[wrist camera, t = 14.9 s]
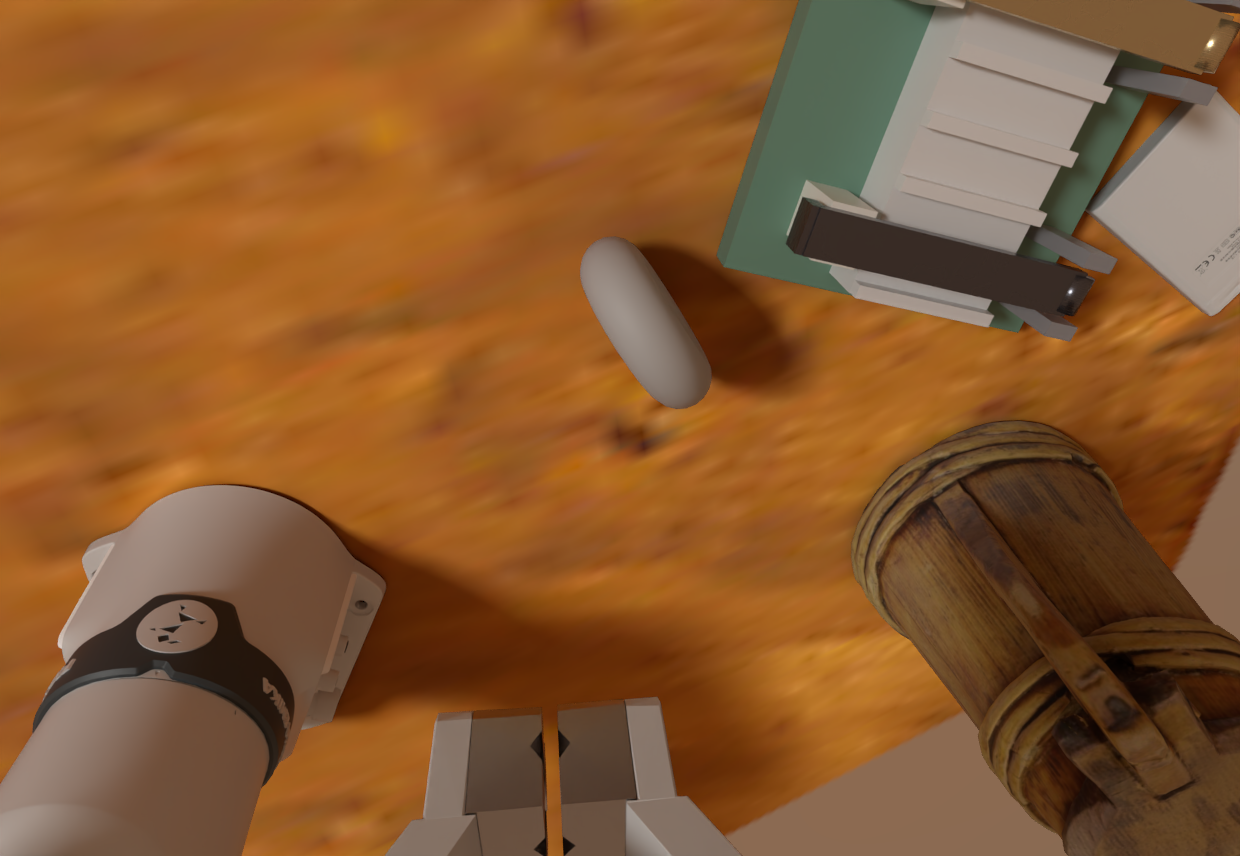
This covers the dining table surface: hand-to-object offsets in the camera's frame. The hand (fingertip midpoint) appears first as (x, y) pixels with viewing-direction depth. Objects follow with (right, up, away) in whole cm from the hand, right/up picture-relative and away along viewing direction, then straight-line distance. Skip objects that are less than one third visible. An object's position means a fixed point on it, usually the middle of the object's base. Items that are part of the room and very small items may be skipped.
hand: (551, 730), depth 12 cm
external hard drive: (+35, +18, +35) cm, 53 cm away
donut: (+2, +13, +34) cm, 36 cm away
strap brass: (+20, +24, +23) cm, 39 cm away
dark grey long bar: (+17, +13, +29) cm, 36 cm away
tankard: (+25, -1, +45) cm, 52 cm away
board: (+18, +21, +31) cm, 41 cm away
